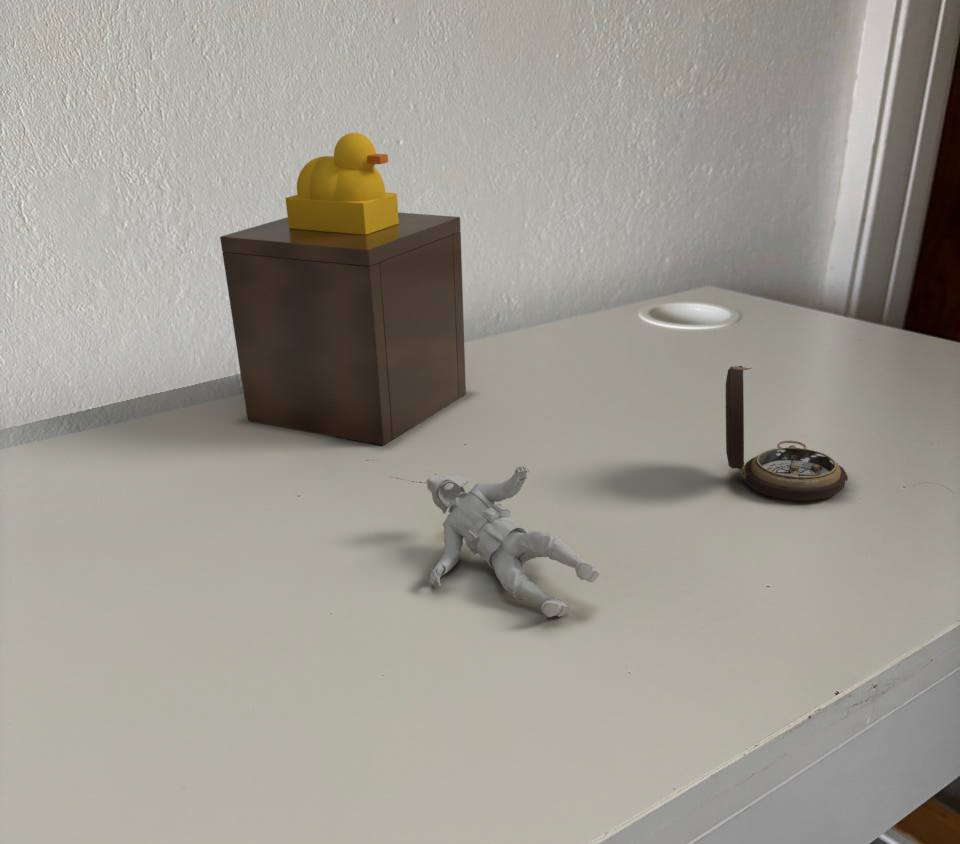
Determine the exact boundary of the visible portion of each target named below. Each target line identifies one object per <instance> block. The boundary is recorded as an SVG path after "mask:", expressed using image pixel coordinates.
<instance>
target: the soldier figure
mask: <svg viewBox="0 0 960 844" xmlns="http://www.w3.org/2000/svg"><path fill="white" fill-rule="evenodd" d="M527 473H531V469H530V468H529V466H526V465H520V466H518V467H516V468H515V470H514V474H512V476H511V477H509V478H508V479H507V480H504V481H501V482H492V483H476V484H475V485H474V486H473V487H472V488H471V489H469V491H468V492H467V491H466V490H465V488H464V487H466V485H467V484H468V483H469V479H467V478H465V477H464V478H463V477H460V476H457V475H454V474H445V475H441V474H439V473H436V474H435V473H434V474H432V475H431V476H429V477H427V479H426V488H427V490H428V491H429V492H430V493H431V497H432V501H433V503H434V505H435V506H436V507H437V508H439V509H440V510H441V512H442V514H443V515H445V514H447V511H448V514H447V516H446V518H445V520H444V521H443V523H442V526H443V543H444V549H443V555H442V556H441V559H440V560H439V561H438V562H437V563H436V564H435V566H434V567H433V569H432V570H431V572H430V575H429V577H430V578H429V582H430V583H431V585H434V582H435V583H436V584H437V585H438V586H441V577H442V576H445V575H446V574H447V573H448V572H449V571H451V570H453V568H454V567H455V566H456V565H457V563H458V561H459V559H460V558H461V553H462V548H463V545H464V543H465V545H466V546H467V548H468V549H469V550H470V551H471V552H472V553H473V555H476V554H478V555H479V556H480V557H482V558H483V559H484V561H485V562H486V563H487V565H488V566H489V567H490V568H492V569H493V570H494V573H495V576H496V578H497V579H498V580H499V582H500V584H501V586H502V588H503V589H504V590H505V591H507V592H509V593H511V594H512V596H513V597H514V599H515V598H516V599H517V598H523V599H526V600H529V601H532V602H534V603H536V604H539V605H540V609H541V612H542V614H544V616H545V617H547V618H552V617H559V618H562V617H564V616H565V615H566V614H567V613H568V611H569V608H570V607H569V606H568V605H567V604H566V603H565V602H563V601H561V599H559V598H557V597H556V596H553V595H551V594H549V593H547V592H546V591H544V590H543V589H541V588H540V587H539V585H537V584H536V583H535V582H533V581H532V580H530V579H529V577H528V576H527V575H526V574H525V571H524V570H525V564H526V562H528V561H531V560H534V559H535V560H536V559H537V558H548V559H550V560H552V561H556V562H558V563H560V564H562V565H565V566H566V567H570V568H573V569H574V571H575V574H576V577H577V578H578V579H580V580H581V581H587V582H589V583H594V582H595V581H596V580H597V579H598V578H599V577H600V573H599V572H598V571H597V570H596V569H595V567H593V566H592V564H590V563H589V562H586V561H585V560H584V559H582V557H581V556H579V555H578V554H577V553H575V551H573V550H572V549H571V548H570V547H569V546H568V545H566V544H565V543H564V542H563V541H562V540H560V539H559V538H558V537H557V536H556V534H554V533H549V532H547V531H541V530H533V531H532V530H531V531H526V530H525V528H524V527H522V526H521V525H518V524H517V523H516V522H514V521H513V520H512V519H511V518H510V517H511V511H510V510H509V509H507V508H506V507H505V506H503V505H502V504H501V502H502V501H504V500H507V499H512V498H513V497H515V496H517V494H518V493H519V492H520V491H521V489H522V487H523V485H524V483H525V482H526V480H527V479H528V474H527Z"/></svg>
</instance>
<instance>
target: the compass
mask: <svg viewBox="0 0 960 844" xmlns="http://www.w3.org/2000/svg"><path fill="white" fill-rule="evenodd" d="M752 368H753V367H752V366H750V367H743V365H734V366H730V367H729V368H728V370H727V373H726V379H725V450H726V452H725V453H726V458H727V463H728V467H730V469H732V470H733V469H735V470H737V469H738V470H740V473H742V477H743V479H744V482H745V483H746V484H747V485H748V487H750V488H751V489H753V490H754V491H756V492H758V493H760V494H762V495H765V496H768V497H770V498H771V497H772V498H775V499H780V500H786V501H797V502H806V501H807V502H808V501H819V500H823V499H828V498H831V497H833V496H835V495H837V494H838V493H840V492H841V491H842V490H843V489H844V488H845V486H846V485H845V484H846V482H848V480H849V475H848V474H847V472H846V470H845V469H844V467H842V466H841V465H839V463H838V462H836V461H835V460H834V458H832V457H831V456H829V455H827V454H826V453H823V452H821V451H818V450H814V449H809V448H807V446H806V444H805V443H803V442H801V441H797V440H782V441H780V442H778V443H777V446H776V447H777V448H772V449H768V450H765V451H763V452H761V453H759V454H758V455H756V456H754V457H752V458H751V459H749V460H748V461H747V462H746V463H745V421H744V420H745V414H744V412H745V410H744V409H745V403H744V401H745V399H744V397H745V396H744V371H748V370H751V369H752ZM784 444H791V445H789V446H788V447H781V445H784ZM794 444H797V445H800V446H802V447H803V448H801V447H796V445H794Z"/></svg>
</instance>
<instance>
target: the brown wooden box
mask: <svg viewBox="0 0 960 844" xmlns="http://www.w3.org/2000/svg"><path fill="white" fill-rule="evenodd" d="M398 220H399V224H397V225H394V226H391V227H388V228H385V229H382V230H379V231H376V232H373V233H370V234H367V235H359V234H347V233H335V232H323V231H312V230H300V229H289V224H288V216H287V217H284V218H279V219H276V220H273V221H270V222H266V223H263V224H260V225H256V226H253V227H248V228H245V229H241V230H239V231H235V232H231V233H228V234H224V235H221V236H220V237H219V240H220V246H221V252H222V259H223V267H224V272H225V279H226V286H227V292H228V293H227V294H228V298H229V299H228V300H229V306H230V312H231V313H230V314H231V318H232V319H231V320H232V326H233V332H234V339H235V345H236V346H235V347H236V352H237V359H238V366H239V372H240V379H241V386H242V391H243V392H242V393H243V398H244V404H245V412H246V418H247V421H248V422H253V423H258V424H264V425H270V426H275V427H280V428H287V429H292V430H297V431H302V432H308V433H313V434H319V435H324V436H329V437H335V438H340V439H346V440H352V441H356V442H357V441H358V442H361V443H362V442H363V443H369V444H374V445H379V446H385V445H386V444H388V443H390V442H391V441H393V440H395V439H396V438H397V437H399V436H401V435H403V434H404V433H406V432H407V431H409V430H411V429H412V428H413V427H415V426H417V425H418V424H420V423H422V422H423V421H424V420H427V419H428V418H430V417H431V416H433V415H435V414H436V413H437V412H439V411H441V410H442V409H443V408H445V407H447V406H449V405H450V404H451V403H453V402H455V401H457V400H458V399H459V398H462V397H464V396H465V395H466V394H467V386H466V354H465V353H466V352H465V350H466V349H465V324H464V323H465V321H464V290H463V288H464V287H463V262H462V232H461V217H460V216H453V215H439V214H423V213H412V212H411V213H410V212H398Z"/></svg>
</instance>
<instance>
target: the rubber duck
mask: <svg viewBox="0 0 960 844" xmlns="http://www.w3.org/2000/svg"><path fill="white" fill-rule="evenodd" d="M376 152H377V151H376V148H375V146H374V144H373V142H372V141H371V140H370V139H369V138H368V137H367V136H366V135H364V134H362V133H358V132H350V133H346V134H344V135H343V136H341V137H340V138H339V139H338V140H337V142H336V144H335V147H334V150H333V156H331V155H324V156H318V157H315V158H313V159H310V161H308V162H307V163H306V164H304V166H303V167H302V168H301V170H300V172H299V174H298V177H297V181H296V194H295V195H292V196H291V195H290V196H288V197H285V205H286V206H285V207H286V215H287V217H288V224H289V229H300V230H312V231H323V232H335V233H347V234H359V235H367V234H370V233H373V232H376V231H379V230H382V229H385V228H388V227H391V226H394V225H397V224H399V220H398V213H399V208H398V205H399V204H398V193H396V192H386V185H385V181H384V179H383V177H382V175H381V173H380V172H379V170H378V169H377V168H376V167H375V166H376V165H383V164H387V163H389V154H387V153H376Z"/></svg>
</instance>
